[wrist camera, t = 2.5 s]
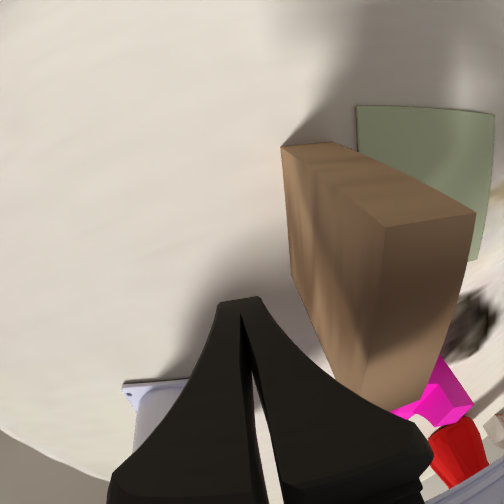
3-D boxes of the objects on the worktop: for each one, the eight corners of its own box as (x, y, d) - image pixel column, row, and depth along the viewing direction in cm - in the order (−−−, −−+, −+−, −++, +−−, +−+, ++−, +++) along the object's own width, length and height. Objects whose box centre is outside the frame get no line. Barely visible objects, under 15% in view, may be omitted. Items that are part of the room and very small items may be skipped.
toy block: (399, 349, 25) (437, 410, 19) (438, 352, 27) (474, 404, 21) (322, 437, 31) (339, 491, 25) (363, 435, 33) (382, 482, 26)
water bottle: (474, 402, 36) (537, 513, 14) (460, 430, 42) (509, 526, 20) (428, 429, 37) (486, 551, 15) (419, 452, 42) (464, 555, 20)
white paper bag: (491, 424, 47) (509, 454, 39) (482, 425, 45) (501, 458, 36) (502, 414, 46) (521, 443, 37) (494, 414, 44) (514, 446, 35)
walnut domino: (335, 266, 20) (420, 399, 10) (290, 274, 20) (353, 423, 10) (332, 141, 16) (476, 212, 7) (280, 146, 16) (385, 227, 6)
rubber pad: (475, 257, 22) (477, 259, 22) (355, 287, 21) (356, 289, 21) (492, 114, 16) (494, 115, 16) (355, 106, 15) (357, 106, 15)
